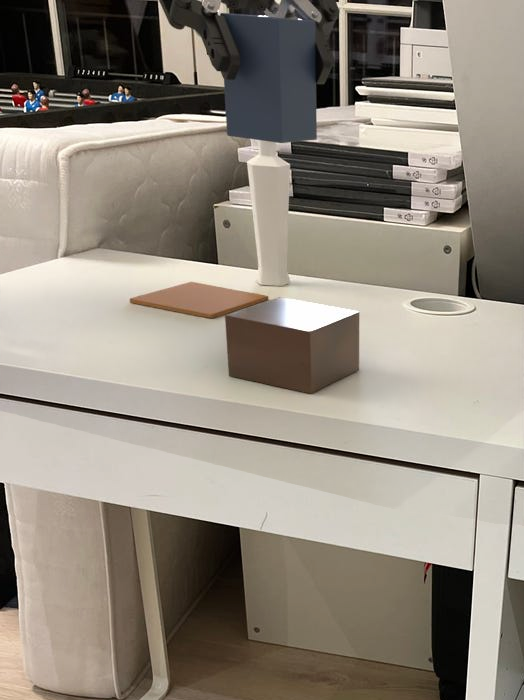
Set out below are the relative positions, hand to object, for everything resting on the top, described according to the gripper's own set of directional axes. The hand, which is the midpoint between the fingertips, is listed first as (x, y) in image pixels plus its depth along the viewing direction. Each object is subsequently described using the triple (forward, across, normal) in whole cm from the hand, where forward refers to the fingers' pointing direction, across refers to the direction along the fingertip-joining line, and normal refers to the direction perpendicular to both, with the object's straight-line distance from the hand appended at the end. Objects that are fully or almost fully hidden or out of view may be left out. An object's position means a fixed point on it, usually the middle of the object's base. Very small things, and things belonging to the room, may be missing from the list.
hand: (279, 73), depth 73 cm
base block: (+17, 0, +15) cm, 22 cm away
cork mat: (-1, +2, +33) cm, 33 cm away
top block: (+2, 0, +4) cm, 5 cm away
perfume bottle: (-5, +13, +37) cm, 39 cm away
